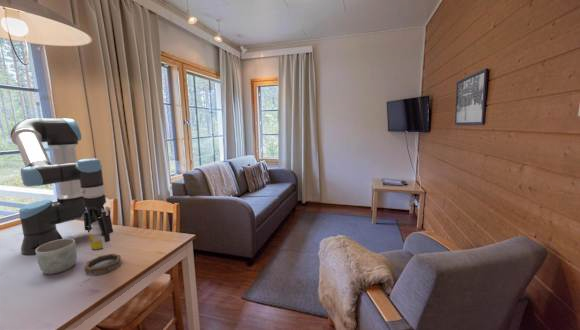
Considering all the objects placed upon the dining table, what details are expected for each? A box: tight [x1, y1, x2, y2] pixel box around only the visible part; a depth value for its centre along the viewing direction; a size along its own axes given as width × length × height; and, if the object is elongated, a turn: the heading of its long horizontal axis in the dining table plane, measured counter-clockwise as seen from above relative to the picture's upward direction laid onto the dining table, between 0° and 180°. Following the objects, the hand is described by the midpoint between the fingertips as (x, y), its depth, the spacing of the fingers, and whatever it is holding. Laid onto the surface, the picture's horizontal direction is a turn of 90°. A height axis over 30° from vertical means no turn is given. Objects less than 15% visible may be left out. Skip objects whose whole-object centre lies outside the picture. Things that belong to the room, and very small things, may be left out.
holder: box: [84, 253, 122, 276], centre depth 107 cm, size 12×12×3 cm
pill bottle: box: [88, 221, 104, 252], centre depth 105 cm, size 6×6×12 cm
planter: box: [35, 238, 77, 275], centre depth 106 cm, size 12×12×11 cm
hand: (101, 247), depth 106 cm, fingers closed on pill bottle, 6 cm apart
